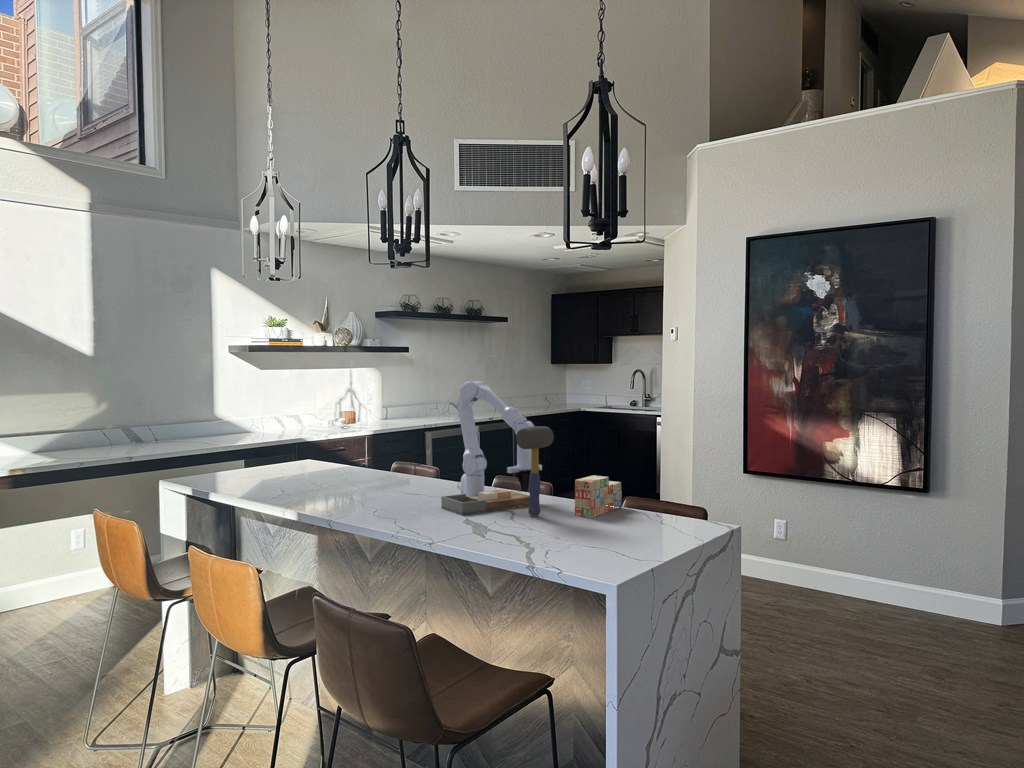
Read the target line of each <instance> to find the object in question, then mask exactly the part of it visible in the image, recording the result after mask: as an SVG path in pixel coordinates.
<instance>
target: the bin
mask: <svg viewBox="0 0 1024 768" xmlns="http://www.w3.org/2000/svg"><path fill="white" fill-rule="evenodd" d="M440 499H441V501H440V502H441V504H440V505H441V507H442V508H441V509H443V508H445V509H444V510H446V509H448V510H447V511H449V510H451V511H450V512H452V511H454V512H453V513H455V512H456V513H455V514H458V513H459V514H458V515H461V514H465V515H469V514H468V513H472V514H478V513H477V512H480V513H486V512H487V511H486V500H479V501H471V502H466V494H461V493H460V494H450V495H442V496H441V498H440ZM485 511H486V512H485Z"/></svg>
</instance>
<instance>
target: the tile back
mask: <svg viewBox="0 0 1024 768" xmlns="http://www.w3.org/2000/svg"><path fill="white" fill-rule="evenodd" d="M492 491H493V492H497V493H498V498H506V497H511V491H512V490H511V491H510V490H507V489H503V488H502V489H495V490H492Z"/></svg>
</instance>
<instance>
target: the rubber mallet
mask: <svg viewBox="0 0 1024 768" xmlns="http://www.w3.org/2000/svg"><path fill="white" fill-rule="evenodd" d="M554 437H555V435H554V432H553V430H552V429H551V428H550V427H549V426H545V425H544V426H543V425H541V426H540V425H539V426H537V425H534V427H527V428H522V429H520V430H519V431H518V432H517V435H516V434H515V442H516V445H517V444H518V446H519V447H520V448H522V449H531V473H530V478H529V488H528V491H529V496H530V505H529V506H528V514H529V516H530V517H534V518H535V517H539V516H540V514H541V507H540V493H541V478H540V472H539V471H540V470H539V465H540V459H539V458H540V457H539V455H540V452H539V451H540V450H539V449H542V448H547V447H549V446H551V445H552V444H553V443H554Z"/></svg>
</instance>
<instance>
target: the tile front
mask: <svg viewBox="0 0 1024 768" xmlns="http://www.w3.org/2000/svg"><path fill="white" fill-rule="evenodd" d="M478 498H481V499H485V500H490V499H498V493H497V492H493V490H484V492H478Z"/></svg>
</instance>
